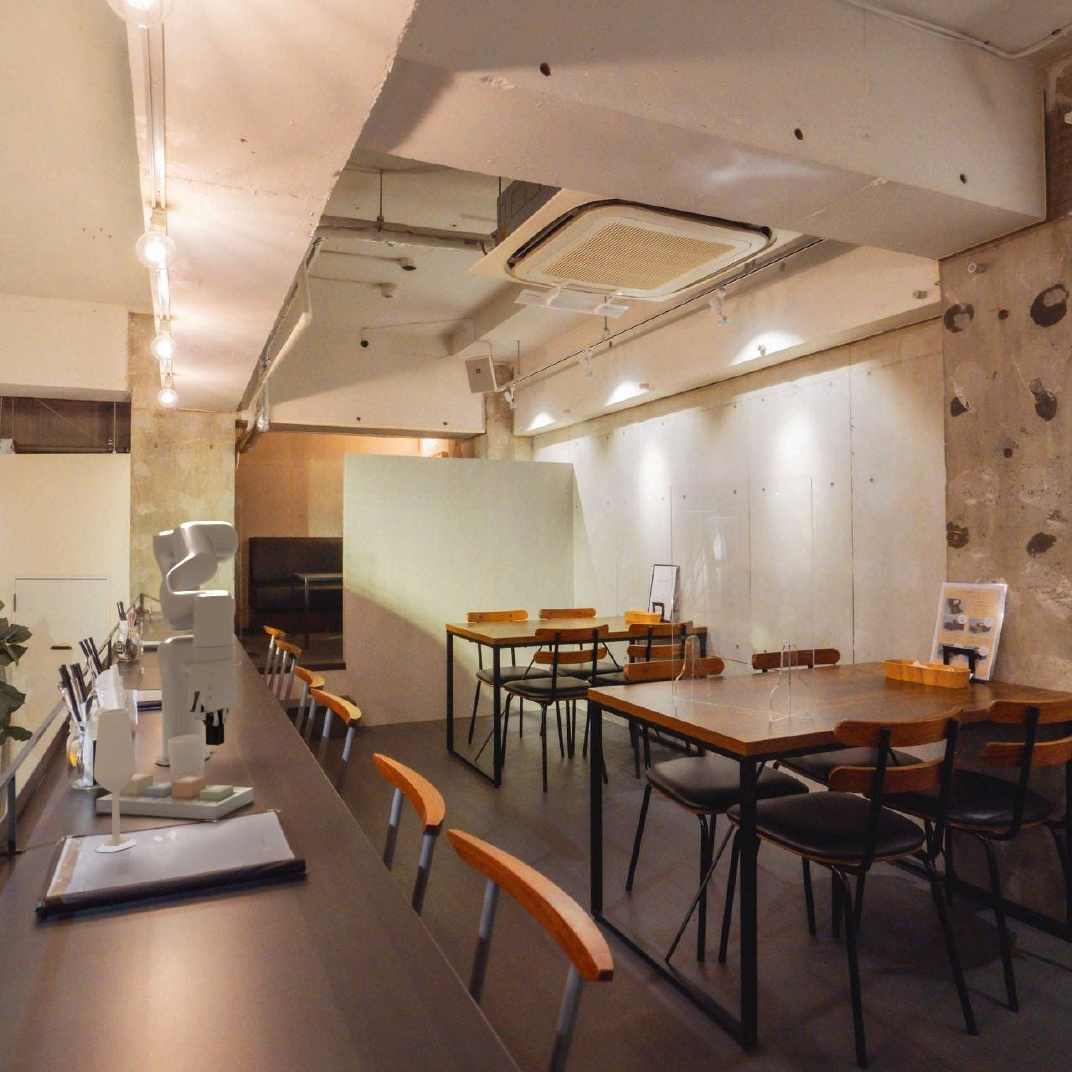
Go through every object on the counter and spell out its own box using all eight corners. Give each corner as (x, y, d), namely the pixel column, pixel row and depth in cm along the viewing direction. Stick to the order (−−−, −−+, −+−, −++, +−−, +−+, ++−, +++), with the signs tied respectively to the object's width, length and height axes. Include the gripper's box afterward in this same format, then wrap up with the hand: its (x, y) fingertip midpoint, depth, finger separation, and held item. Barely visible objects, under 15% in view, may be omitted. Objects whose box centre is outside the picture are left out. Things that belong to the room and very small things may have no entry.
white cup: (191, 787, 173) (191, 742, 173) (160, 786, 175) (160, 742, 175) (213, 777, 181) (212, 734, 181) (183, 776, 182) (182, 733, 183)
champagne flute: (97, 842, 140) (95, 709, 141) (138, 836, 143) (136, 706, 143) (92, 855, 134) (90, 716, 134) (135, 848, 137) (133, 712, 137)
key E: (214, 801, 159) (214, 784, 159) (233, 803, 158) (233, 785, 158) (199, 809, 155) (199, 790, 155) (219, 810, 153) (218, 792, 154)
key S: (135, 789, 164) (135, 772, 164) (153, 790, 163) (152, 773, 163) (118, 796, 160) (118, 778, 160) (137, 797, 158) (136, 779, 158)
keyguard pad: (140, 795, 168) (140, 781, 168) (253, 802, 161) (253, 788, 161) (96, 814, 156) (96, 799, 156) (215, 822, 149) (215, 806, 149)
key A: (187, 792, 161) (187, 775, 161) (206, 793, 159) (205, 776, 160) (172, 799, 156) (171, 781, 156) (191, 800, 155) (190, 782, 155)
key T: (161, 798, 162) (161, 781, 162) (179, 799, 161) (179, 782, 161) (145, 805, 158) (145, 787, 158) (164, 806, 157) (163, 789, 157)
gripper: (221, 648, 165) (222, 733, 165) (172, 659, 151) (173, 753, 151) (252, 648, 163) (253, 735, 163) (205, 660, 149) (206, 755, 149)
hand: (215, 743), depth 157 cm, fingers closed
